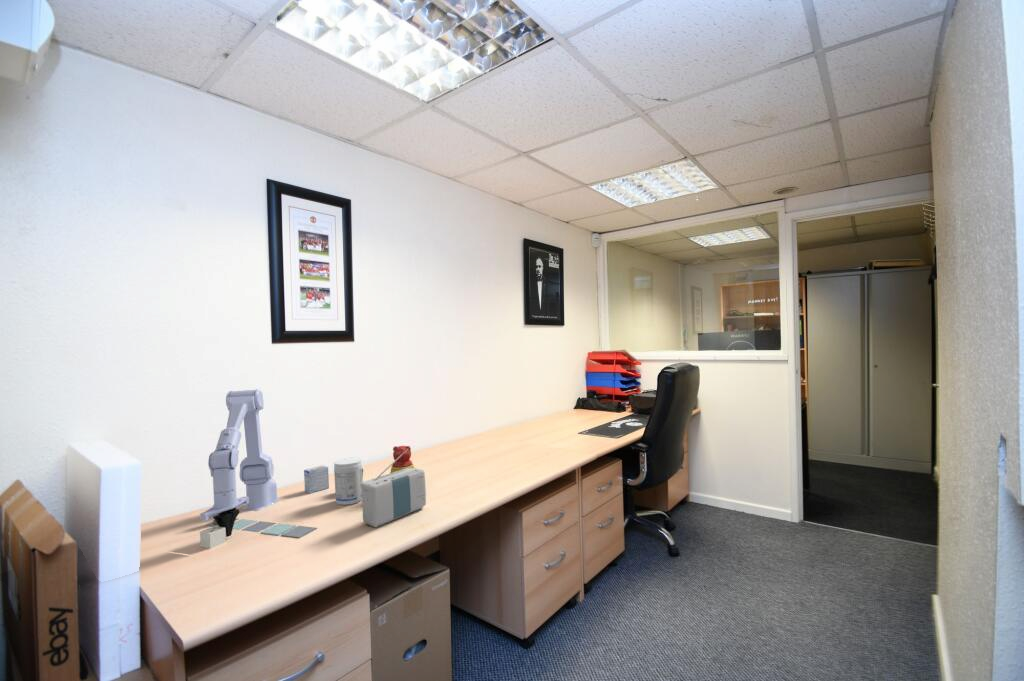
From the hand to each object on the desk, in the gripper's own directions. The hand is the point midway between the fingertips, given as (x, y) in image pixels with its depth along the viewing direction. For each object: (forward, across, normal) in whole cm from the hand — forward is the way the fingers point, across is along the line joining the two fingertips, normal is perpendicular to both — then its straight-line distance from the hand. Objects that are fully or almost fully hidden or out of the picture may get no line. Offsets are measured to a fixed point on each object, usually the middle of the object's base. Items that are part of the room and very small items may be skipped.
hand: (226, 535), depth 137 cm
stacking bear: (+1, -48, +31) cm, 57 cm away
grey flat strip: (+1, -9, +2) cm, 10 cm away
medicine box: (+1, -45, -6) cm, 45 cm away
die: (+1, +4, -1) cm, 4 cm away
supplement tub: (+1, -36, +16) cm, 39 cm away
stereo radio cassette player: (+1, -26, +41) cm, 49 cm away
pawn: (+1, -10, -14) cm, 17 cm away
